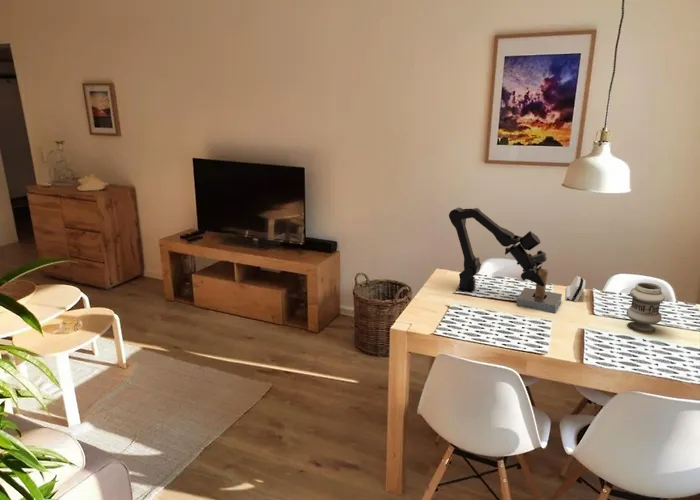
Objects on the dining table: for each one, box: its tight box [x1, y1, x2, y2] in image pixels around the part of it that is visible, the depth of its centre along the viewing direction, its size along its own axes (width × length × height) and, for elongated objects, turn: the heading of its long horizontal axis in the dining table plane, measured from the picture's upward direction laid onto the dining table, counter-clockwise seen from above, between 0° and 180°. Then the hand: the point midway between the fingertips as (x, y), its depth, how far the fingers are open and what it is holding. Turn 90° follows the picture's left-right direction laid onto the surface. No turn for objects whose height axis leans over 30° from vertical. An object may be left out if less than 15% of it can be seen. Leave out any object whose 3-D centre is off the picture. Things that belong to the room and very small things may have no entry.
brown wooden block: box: [535, 268, 549, 299], centre depth 223 cm, size 4×4×13 cm
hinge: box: [564, 275, 586, 303], centre depth 234 cm, size 17×5×10 cm, turn 157°
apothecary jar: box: [626, 281, 666, 334], centre depth 199 cm, size 12×12×18 cm
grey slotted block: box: [515, 287, 563, 314], centre depth 225 cm, size 16×16×4 cm
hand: (544, 284), depth 222 cm, fingers closed on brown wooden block, 3 cm apart
